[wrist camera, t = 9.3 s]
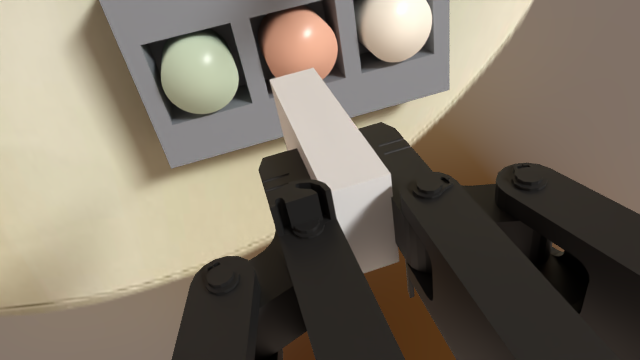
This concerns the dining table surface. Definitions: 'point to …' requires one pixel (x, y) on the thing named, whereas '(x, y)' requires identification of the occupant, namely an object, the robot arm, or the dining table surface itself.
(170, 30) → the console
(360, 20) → the button cream
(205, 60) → the button sage
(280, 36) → the button terracotta
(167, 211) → the dining table surface
